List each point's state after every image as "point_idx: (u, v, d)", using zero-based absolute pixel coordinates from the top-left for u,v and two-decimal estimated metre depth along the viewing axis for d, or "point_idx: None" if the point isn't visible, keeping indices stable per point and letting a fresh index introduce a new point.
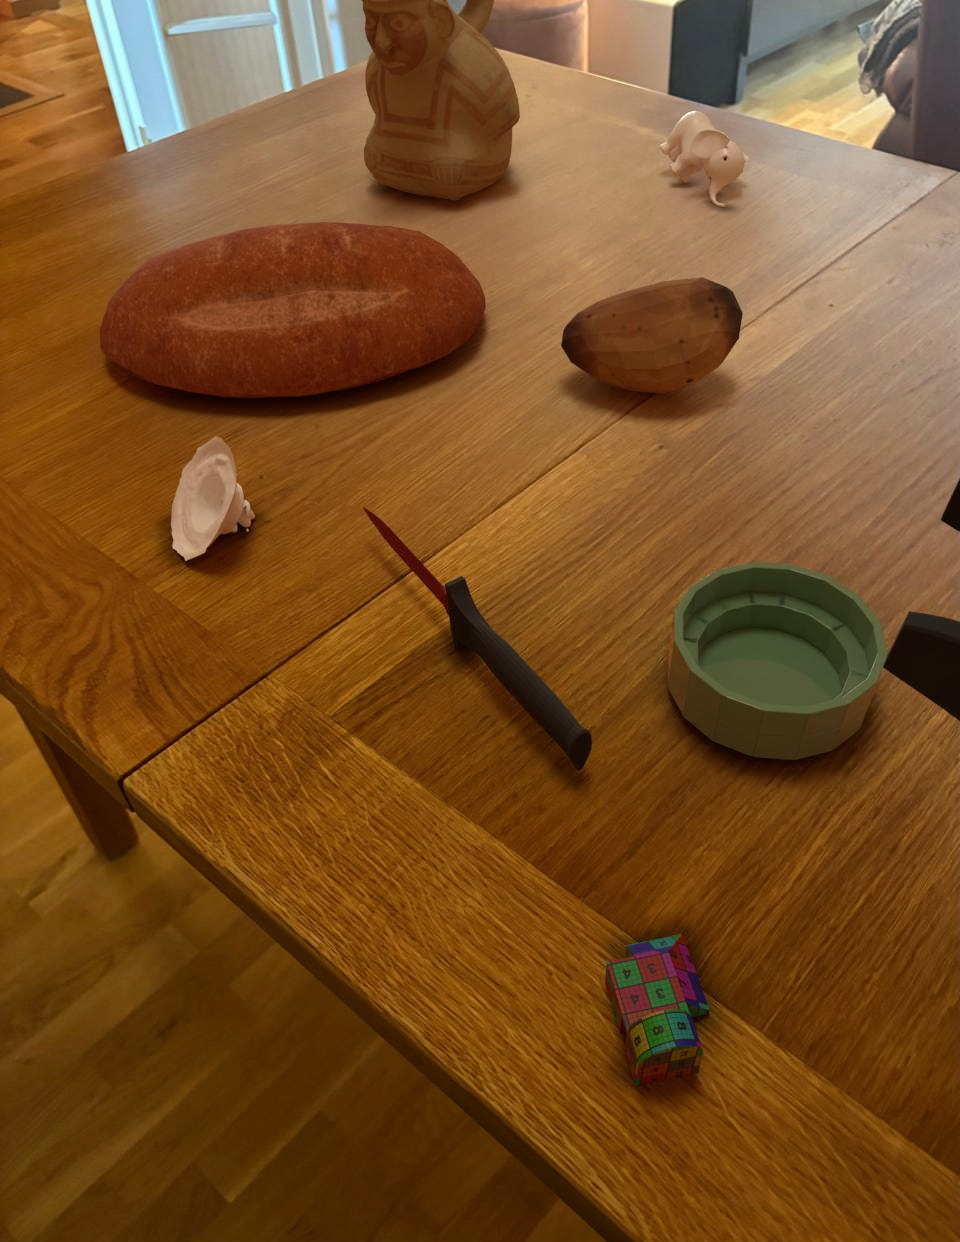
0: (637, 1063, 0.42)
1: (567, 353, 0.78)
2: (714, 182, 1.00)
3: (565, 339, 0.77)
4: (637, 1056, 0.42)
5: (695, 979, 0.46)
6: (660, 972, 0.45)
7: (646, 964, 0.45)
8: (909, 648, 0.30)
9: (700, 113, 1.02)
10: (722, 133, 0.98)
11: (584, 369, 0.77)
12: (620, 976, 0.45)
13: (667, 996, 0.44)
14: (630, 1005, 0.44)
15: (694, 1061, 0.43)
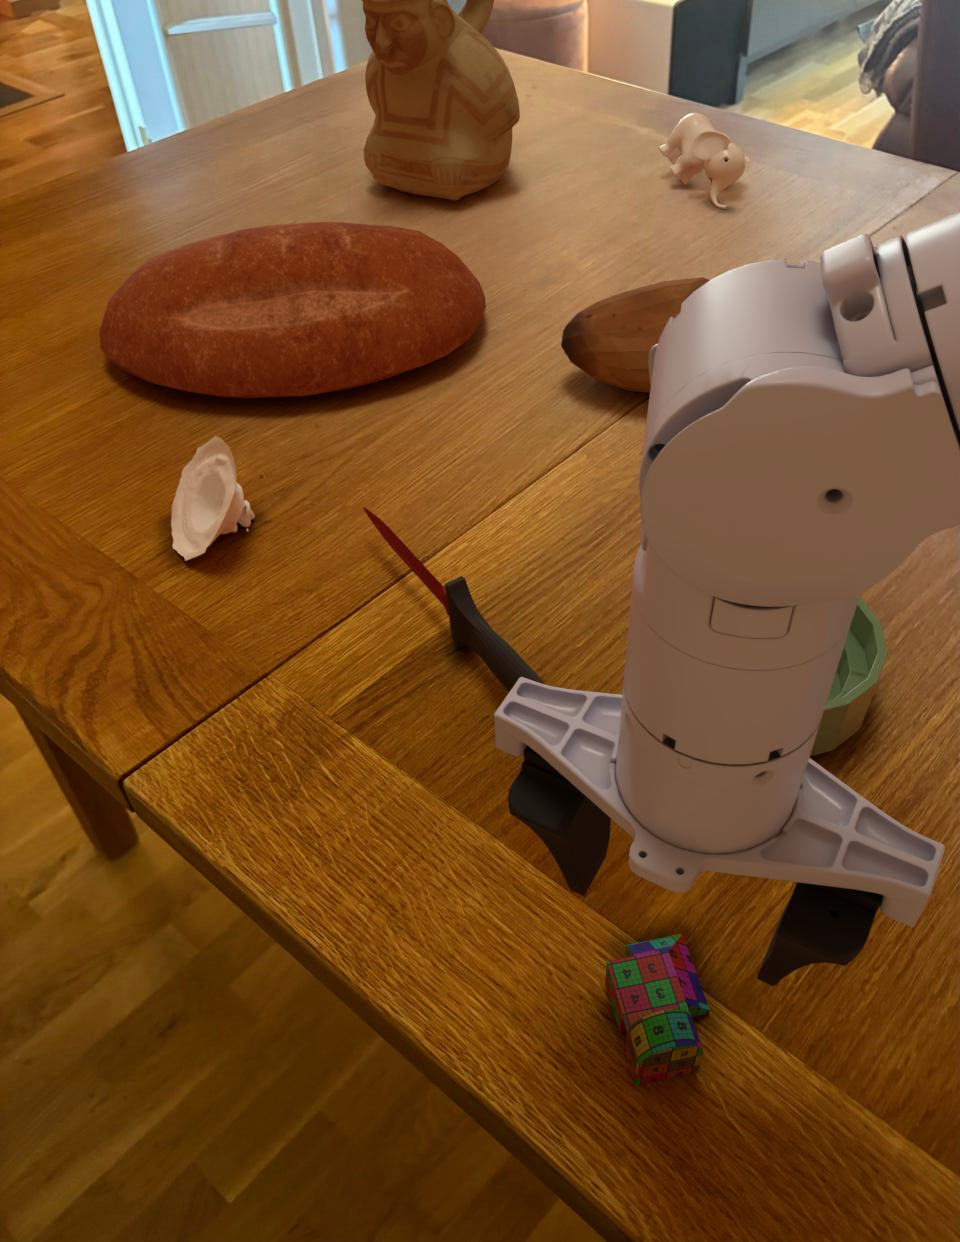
0: (637, 1063, 0.42)
1: (567, 353, 0.78)
2: (715, 184, 1.00)
3: (565, 339, 0.77)
4: (637, 1056, 0.42)
5: (695, 979, 0.46)
6: (660, 972, 0.45)
7: (646, 964, 0.45)
8: None
9: (699, 114, 1.01)
10: (723, 135, 0.98)
11: (584, 369, 0.77)
12: (620, 976, 0.45)
13: (667, 996, 0.44)
14: (630, 1005, 0.44)
15: (694, 1061, 0.43)
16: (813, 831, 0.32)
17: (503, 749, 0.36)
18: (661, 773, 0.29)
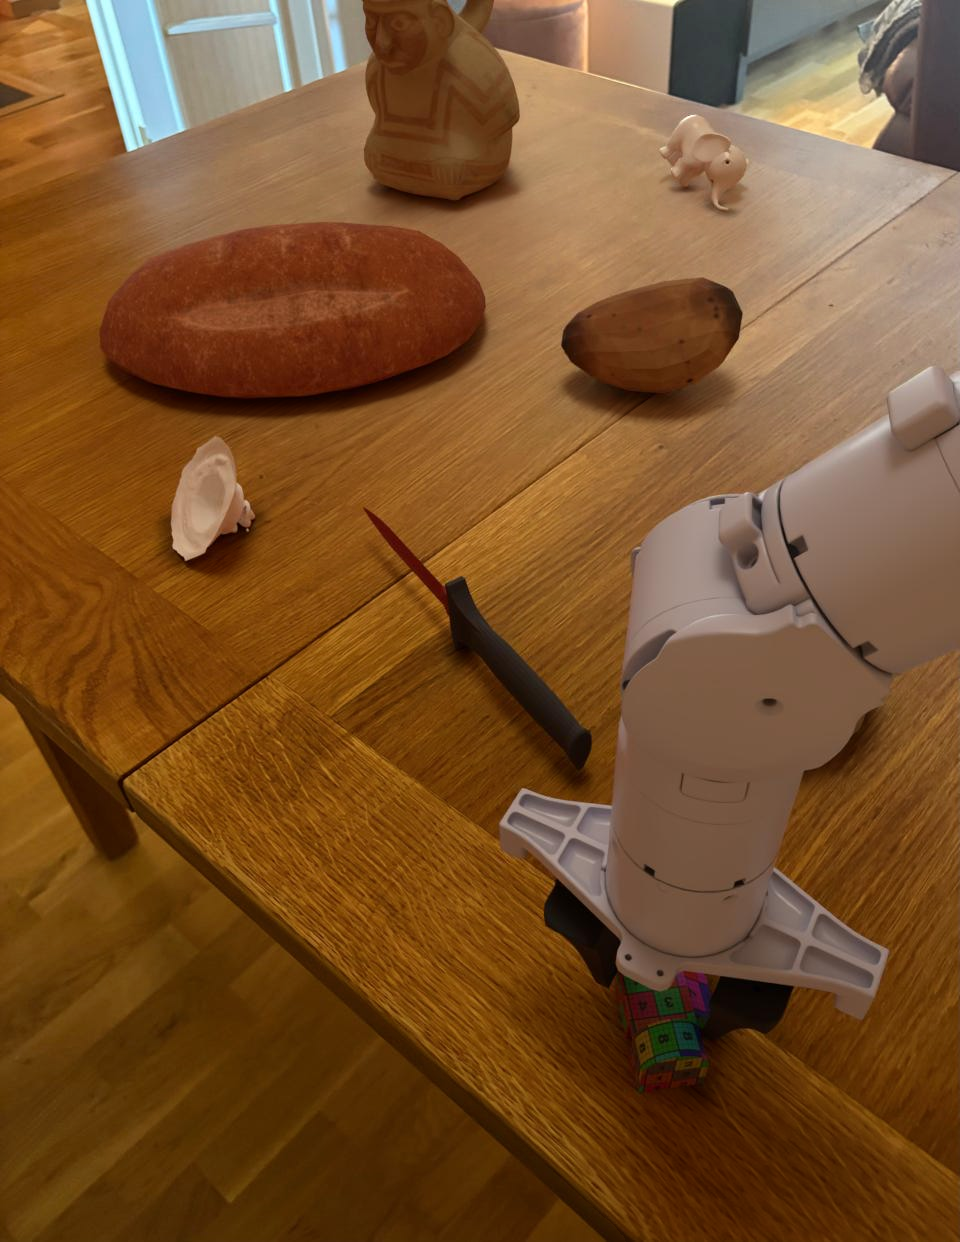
0: (641, 1070, 0.42)
1: (567, 353, 0.78)
2: (716, 186, 1.00)
3: (565, 339, 0.77)
4: (641, 1063, 0.42)
5: (706, 990, 0.46)
6: None
7: None
8: None
9: (699, 116, 1.01)
10: (724, 137, 0.98)
11: (584, 369, 0.77)
12: (629, 982, 0.44)
13: (675, 1005, 0.44)
14: (637, 1011, 0.43)
15: (699, 1072, 0.42)
16: (776, 936, 0.37)
17: (507, 852, 0.41)
18: (643, 893, 0.34)
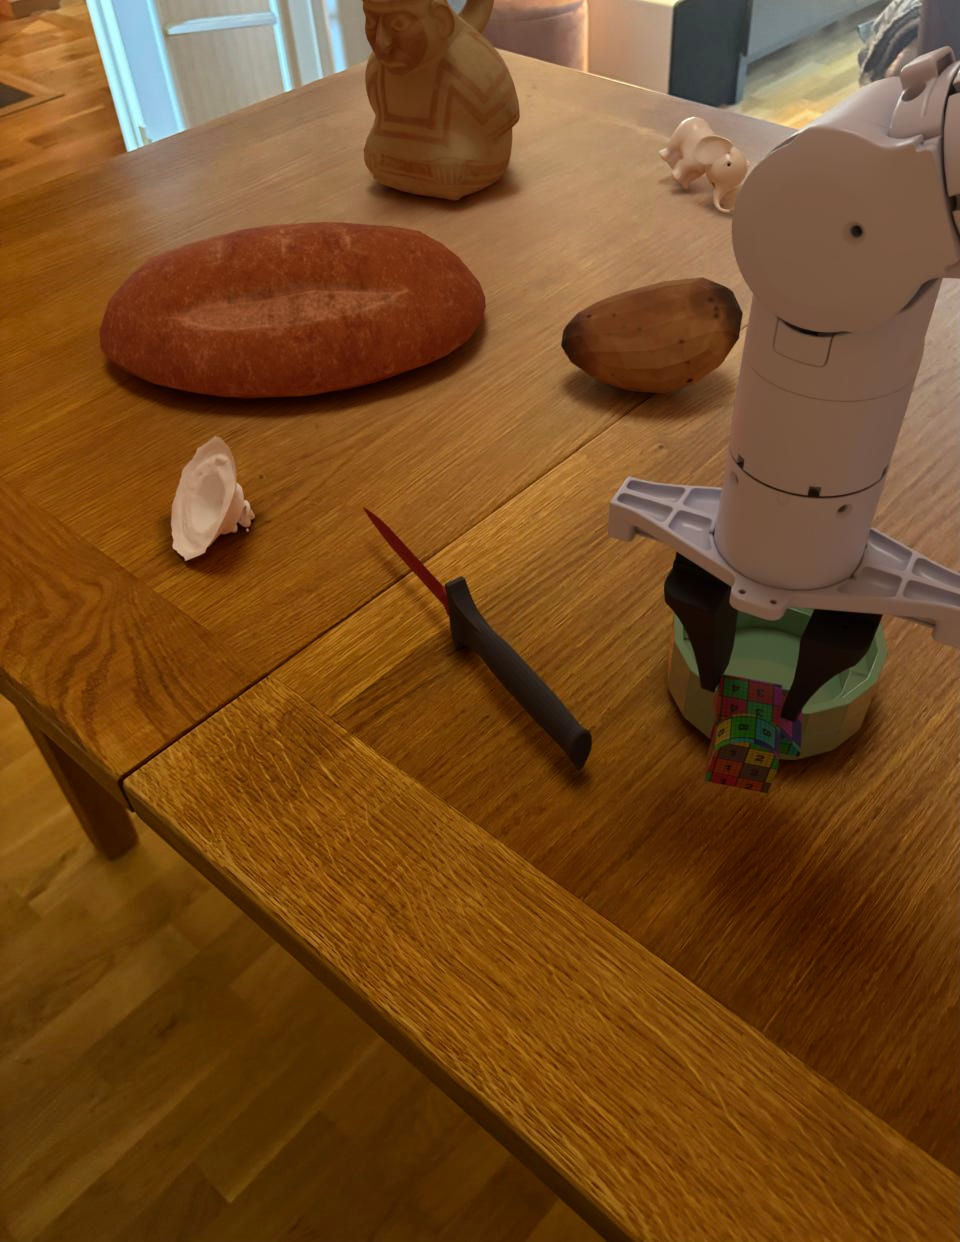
0: (713, 752, 0.45)
1: (567, 353, 0.78)
2: (717, 189, 0.99)
3: (565, 339, 0.77)
4: (715, 745, 0.44)
5: (798, 725, 0.47)
6: (766, 698, 0.47)
7: (757, 688, 0.47)
8: None
9: (699, 118, 1.01)
10: (725, 139, 0.97)
11: (584, 369, 0.77)
12: (728, 688, 0.47)
13: (764, 717, 0.46)
14: (727, 711, 0.46)
15: (767, 776, 0.45)
16: (878, 577, 0.39)
17: (614, 536, 0.44)
18: (761, 514, 0.37)
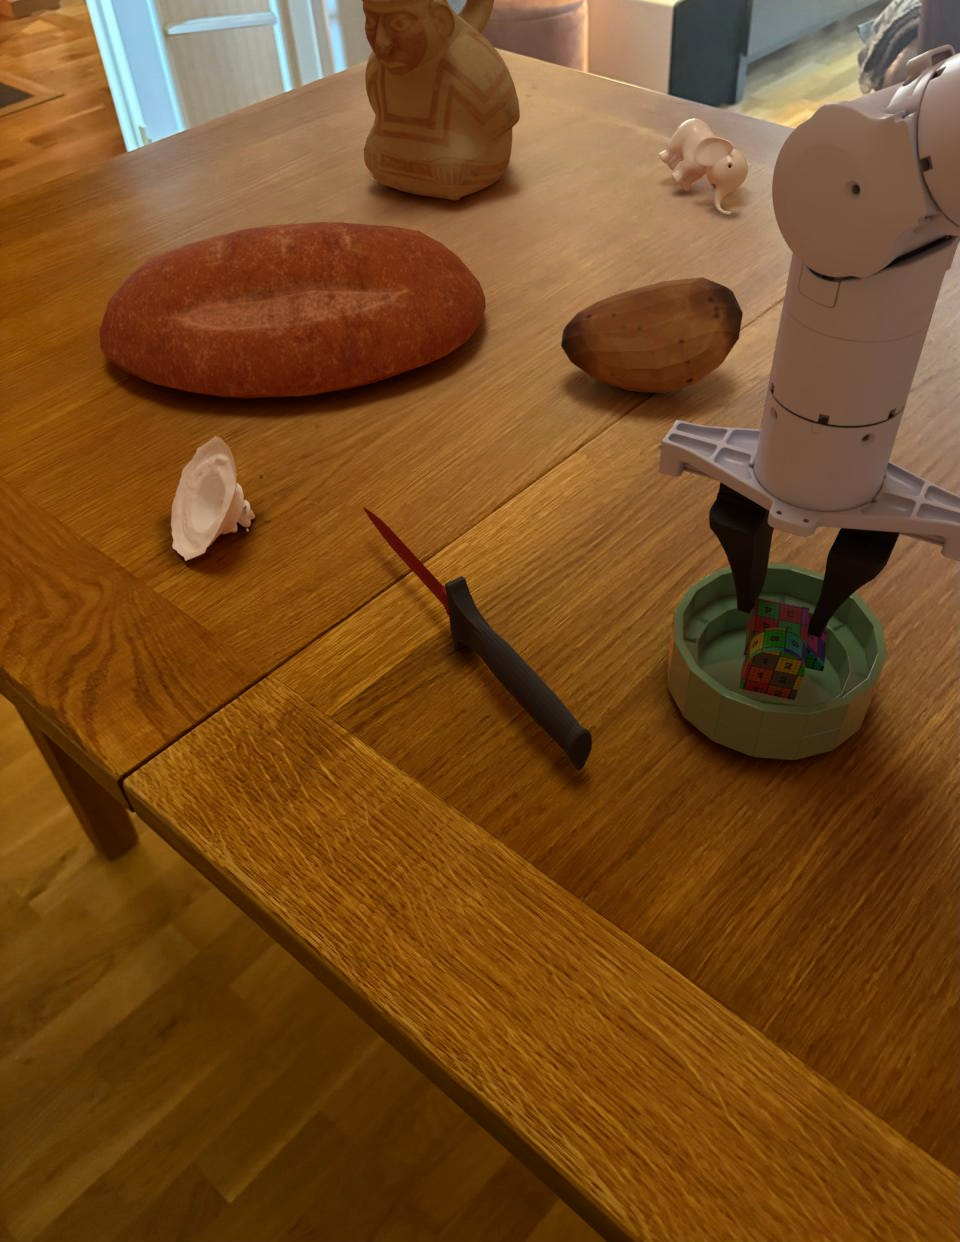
0: (748, 660, 0.51)
1: (567, 353, 0.78)
2: (718, 190, 0.99)
3: (565, 339, 0.77)
4: (750, 654, 0.51)
5: (823, 644, 0.54)
6: (795, 618, 0.53)
7: (787, 610, 0.53)
8: None
9: (699, 120, 1.00)
10: (726, 140, 0.97)
11: (584, 369, 0.77)
12: (762, 609, 0.53)
13: None
14: (760, 628, 0.53)
15: (794, 683, 0.51)
16: (895, 501, 0.46)
17: (664, 472, 0.50)
18: (796, 444, 0.43)
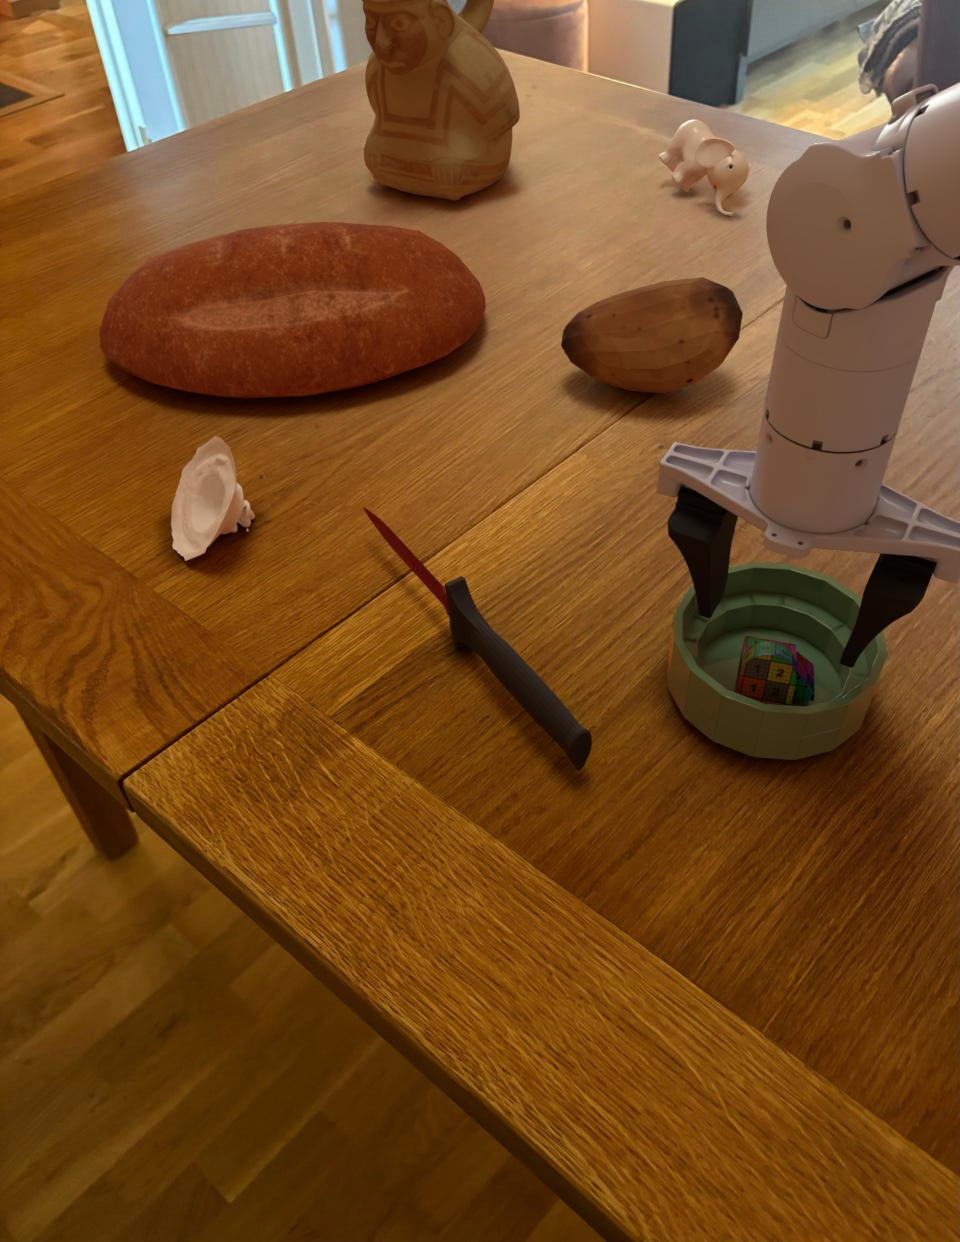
0: (741, 671, 0.53)
1: (567, 353, 0.78)
2: (719, 191, 0.99)
3: (565, 339, 0.77)
4: (742, 665, 0.53)
5: (811, 680, 0.56)
6: None
7: None
8: None
9: (699, 121, 1.00)
10: (727, 141, 0.97)
11: (584, 369, 0.77)
12: (751, 642, 0.56)
13: None
14: None
15: (787, 695, 0.53)
16: (888, 524, 0.47)
17: (662, 492, 0.51)
18: (791, 468, 0.44)
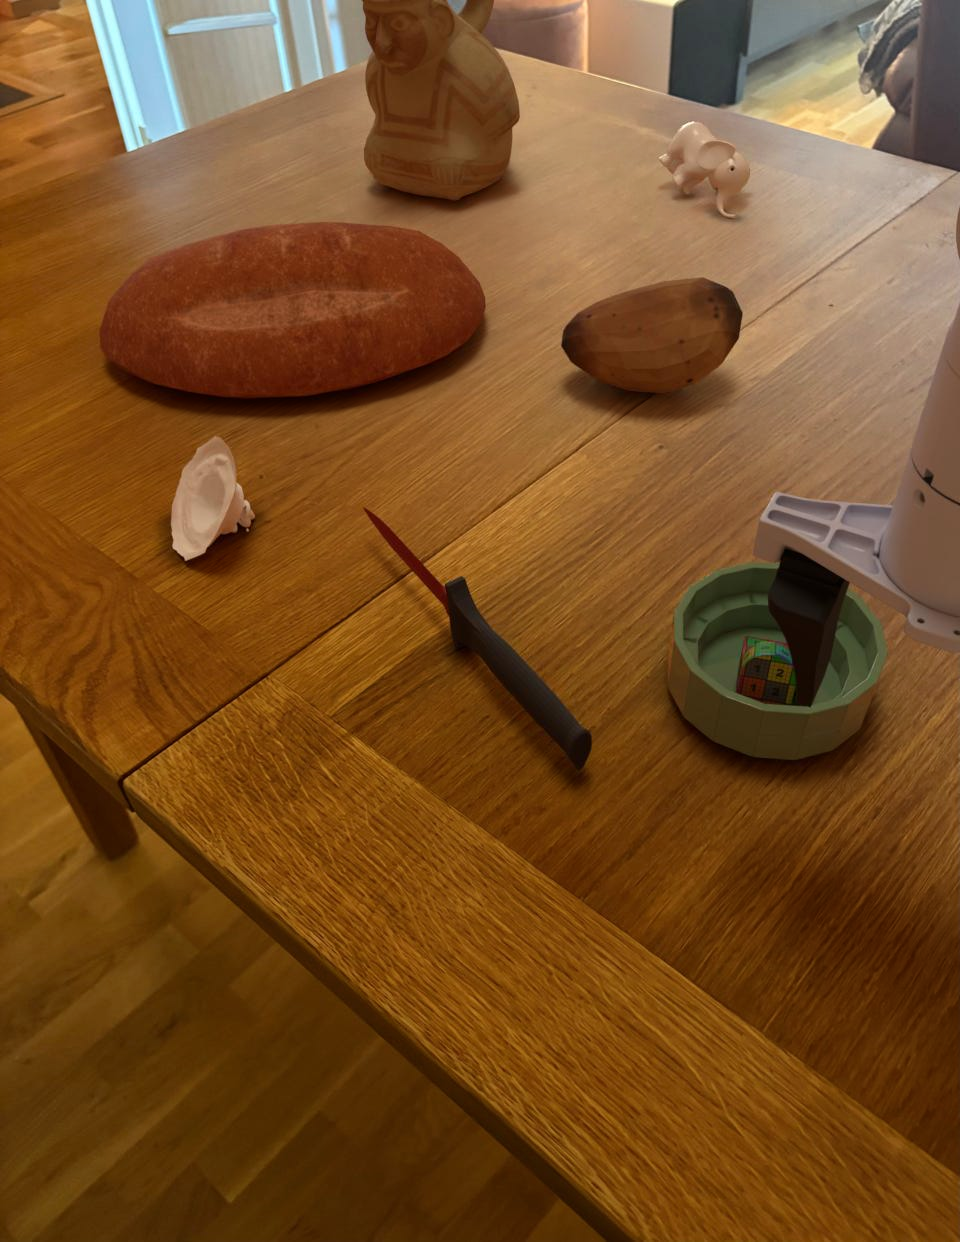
0: (740, 671, 0.53)
1: (567, 353, 0.78)
2: (721, 194, 0.99)
3: (565, 339, 0.77)
4: (742, 665, 0.53)
5: None
6: None
7: None
8: None
9: (699, 123, 1.00)
10: (728, 143, 0.96)
11: (584, 369, 0.77)
12: (751, 642, 0.56)
13: None
14: None
15: (786, 694, 0.53)
16: None
17: (760, 556, 0.40)
18: (951, 537, 0.33)
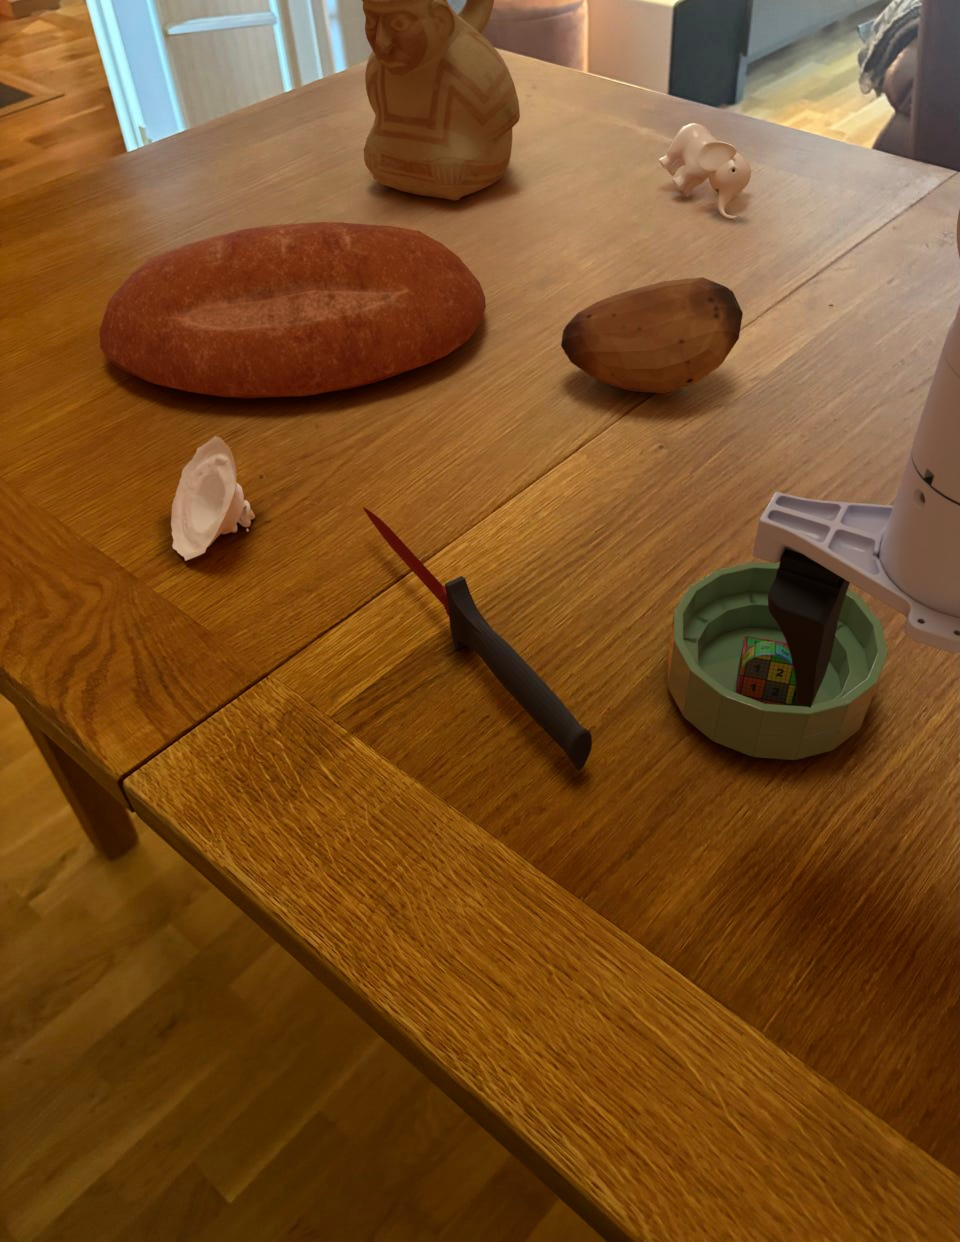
0: (740, 671, 0.53)
1: (567, 353, 0.78)
2: (722, 195, 0.98)
3: (565, 339, 0.77)
4: (742, 665, 0.53)
5: None
6: None
7: None
8: None
9: (699, 125, 1.00)
10: (729, 145, 0.96)
11: (584, 369, 0.77)
12: (751, 642, 0.56)
13: None
14: None
15: (786, 694, 0.53)
16: None
17: (760, 556, 0.40)
18: (951, 538, 0.33)
